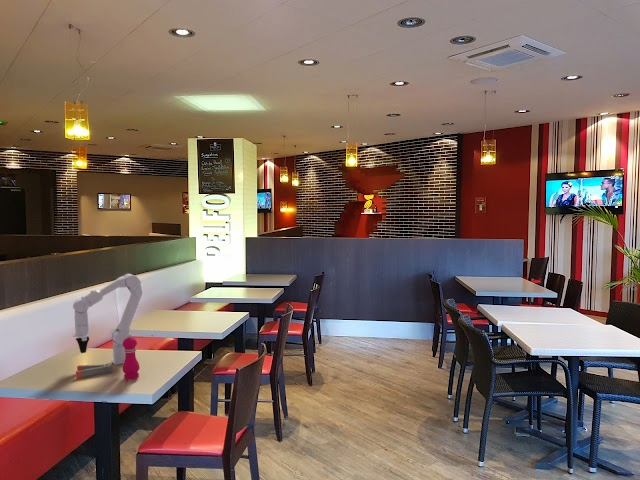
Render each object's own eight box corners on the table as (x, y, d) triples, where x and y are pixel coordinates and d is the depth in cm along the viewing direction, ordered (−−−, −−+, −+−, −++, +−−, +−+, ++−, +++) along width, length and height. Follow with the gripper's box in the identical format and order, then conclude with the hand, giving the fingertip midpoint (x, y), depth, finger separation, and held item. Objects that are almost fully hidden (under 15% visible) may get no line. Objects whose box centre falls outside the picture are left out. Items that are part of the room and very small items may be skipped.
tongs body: (111, 369, 233) (111, 362, 233) (113, 372, 229) (113, 365, 229) (75, 376, 225) (74, 369, 225) (76, 379, 221) (76, 372, 221)
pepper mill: (143, 375, 224) (141, 332, 222) (132, 381, 217) (130, 336, 216) (130, 374, 226) (128, 331, 225) (119, 379, 219) (117, 335, 218)
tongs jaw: (104, 370, 232) (104, 364, 232) (103, 371, 230) (102, 365, 230) (79, 371, 231) (78, 365, 231) (77, 372, 230) (77, 366, 230)
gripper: (70, 323, 238) (72, 350, 239) (74, 328, 226) (75, 357, 227) (86, 321, 242) (88, 348, 243) (90, 326, 230) (92, 355, 231)
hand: (83, 352), depth 235 cm, fingers closed
